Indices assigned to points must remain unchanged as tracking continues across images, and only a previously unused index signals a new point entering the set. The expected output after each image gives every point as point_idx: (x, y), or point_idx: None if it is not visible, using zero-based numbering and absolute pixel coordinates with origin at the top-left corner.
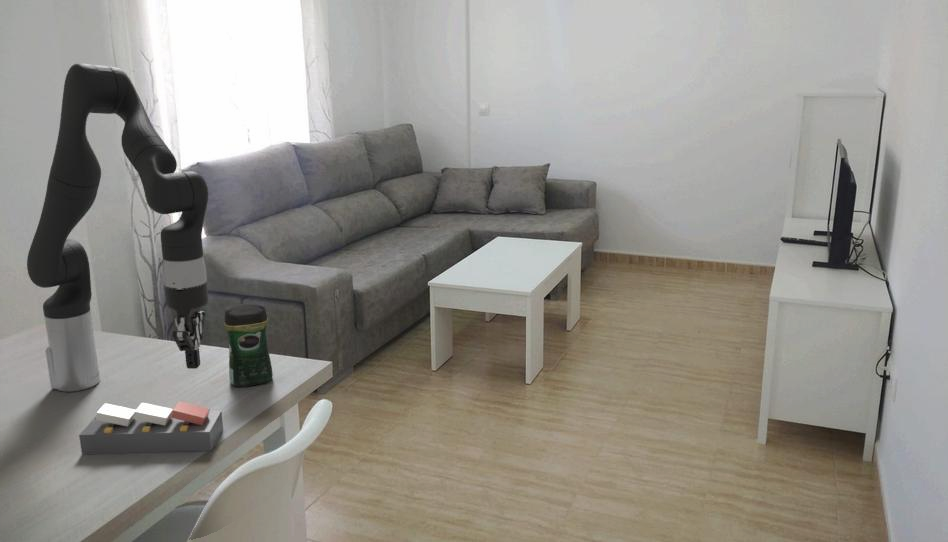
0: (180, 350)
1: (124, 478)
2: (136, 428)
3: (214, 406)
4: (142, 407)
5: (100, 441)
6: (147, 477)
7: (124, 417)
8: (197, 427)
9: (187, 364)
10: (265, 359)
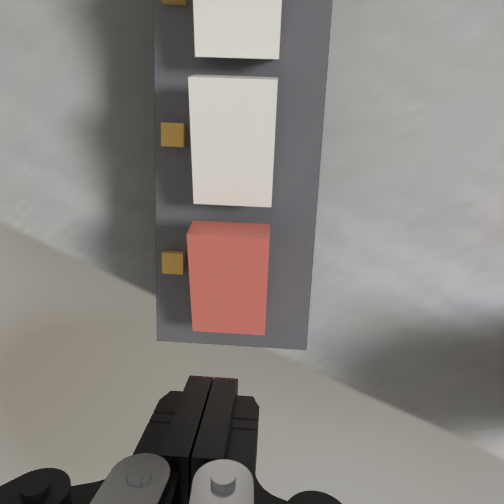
0: (20, 479)
1: (32, 120)
2: None
3: (467, 270)
4: (234, 96)
5: None
6: (38, 182)
7: (200, 34)
8: (188, 299)
9: (160, 401)
10: None
